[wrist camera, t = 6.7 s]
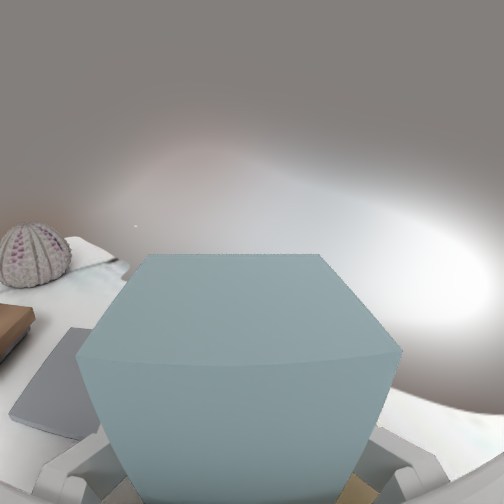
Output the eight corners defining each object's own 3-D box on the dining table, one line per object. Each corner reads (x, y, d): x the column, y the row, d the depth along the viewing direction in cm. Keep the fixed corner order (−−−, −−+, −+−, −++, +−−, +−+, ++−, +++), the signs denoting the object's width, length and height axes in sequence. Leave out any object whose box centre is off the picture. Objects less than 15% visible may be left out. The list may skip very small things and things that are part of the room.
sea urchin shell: (55, 257, 45) (49, 211, 42) (88, 275, 38) (81, 218, 36) (-9, 277, 34) (-19, 228, 32) (6, 304, 27) (-8, 241, 25)
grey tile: (11, 419, 12) (8, 413, 12) (72, 332, 24) (70, 327, 24) (180, 455, 13) (179, 449, 13) (195, 340, 25) (195, 334, 25)
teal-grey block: (184, 557, 7) (74, 356, 4) (188, 477, 12) (148, 254, 9) (300, 553, 8) (402, 350, 4) (285, 474, 12) (318, 254, 9)
